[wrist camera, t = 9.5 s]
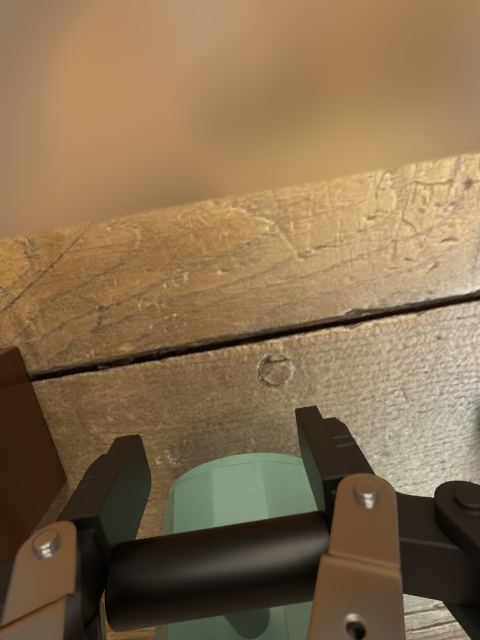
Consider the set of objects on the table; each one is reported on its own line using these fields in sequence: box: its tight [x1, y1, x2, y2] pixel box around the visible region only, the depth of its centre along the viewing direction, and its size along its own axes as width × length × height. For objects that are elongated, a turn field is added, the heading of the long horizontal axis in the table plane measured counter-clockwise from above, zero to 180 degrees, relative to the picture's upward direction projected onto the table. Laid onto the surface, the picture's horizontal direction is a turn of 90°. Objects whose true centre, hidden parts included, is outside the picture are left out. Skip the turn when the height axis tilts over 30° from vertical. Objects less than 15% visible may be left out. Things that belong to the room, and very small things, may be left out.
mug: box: [105, 453, 331, 640], centre depth 14 cm, size 15×9×10 cm, turn 9°
